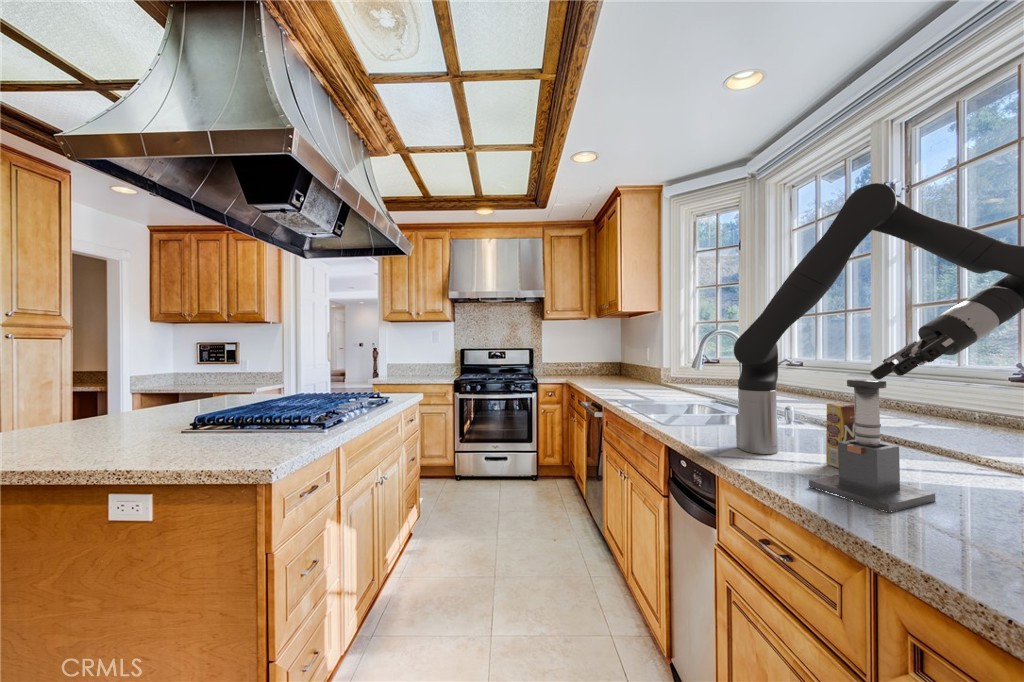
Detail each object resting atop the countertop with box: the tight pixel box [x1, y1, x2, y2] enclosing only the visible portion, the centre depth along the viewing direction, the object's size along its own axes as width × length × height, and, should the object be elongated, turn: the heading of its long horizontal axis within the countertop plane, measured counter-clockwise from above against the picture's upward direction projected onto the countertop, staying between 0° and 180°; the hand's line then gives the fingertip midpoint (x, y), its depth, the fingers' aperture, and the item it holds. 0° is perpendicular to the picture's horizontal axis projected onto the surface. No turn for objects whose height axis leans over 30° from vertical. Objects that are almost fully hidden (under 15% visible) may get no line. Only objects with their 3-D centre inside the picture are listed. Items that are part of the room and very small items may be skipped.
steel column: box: [846, 378, 887, 448], centre depth 82 cm, size 6×6×21 cm
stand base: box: [808, 440, 936, 513], centre depth 82 cm, size 14×14×10 cm
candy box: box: [825, 402, 855, 469], centre depth 99 cm, size 9×4×15 cm, turn 98°
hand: (884, 374), depth 86 cm, fingers open, 8 cm apart
